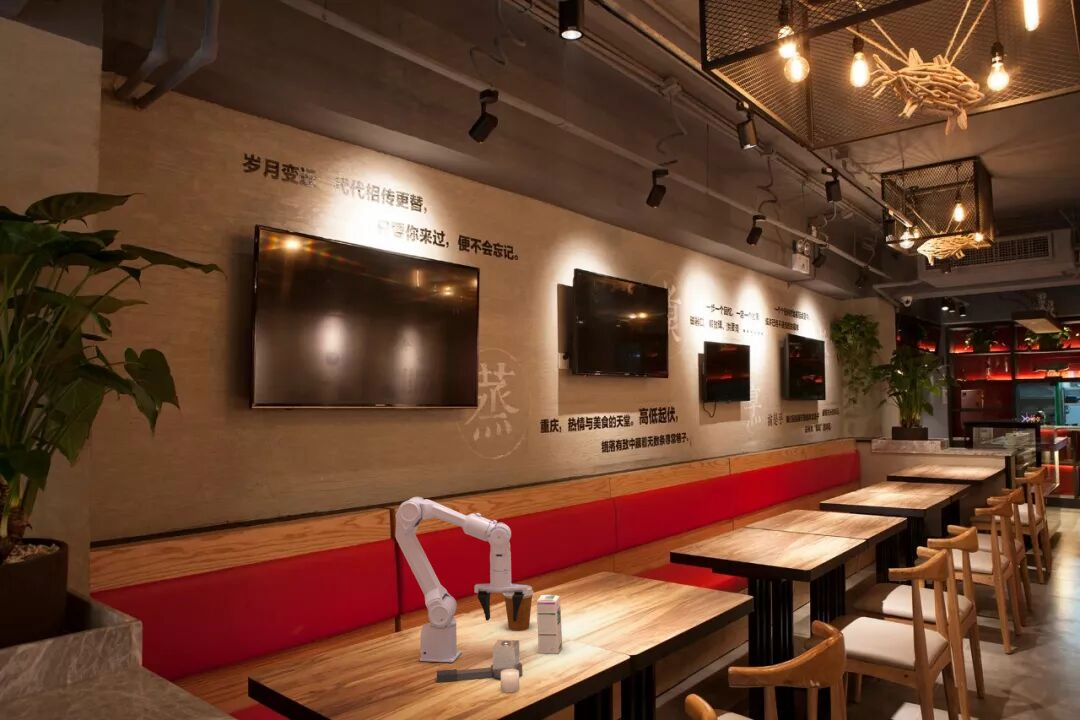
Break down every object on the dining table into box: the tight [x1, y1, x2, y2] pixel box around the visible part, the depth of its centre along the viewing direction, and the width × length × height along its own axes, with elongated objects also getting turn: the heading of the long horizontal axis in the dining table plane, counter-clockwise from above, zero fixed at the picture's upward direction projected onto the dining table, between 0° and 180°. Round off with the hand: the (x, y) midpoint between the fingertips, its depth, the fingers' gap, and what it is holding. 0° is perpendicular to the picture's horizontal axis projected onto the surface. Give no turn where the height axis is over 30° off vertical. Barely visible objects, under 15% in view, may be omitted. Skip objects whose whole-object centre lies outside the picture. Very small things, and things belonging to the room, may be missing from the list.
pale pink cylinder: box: [500, 669, 520, 694], centre depth 168 cm, size 4×4×4 cm
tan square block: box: [492, 639, 521, 670], centre depth 178 cm, size 6×6×6 cm
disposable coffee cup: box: [502, 585, 534, 632], centre depth 216 cm, size 10×10×12 cm
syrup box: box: [536, 594, 563, 655], centre depth 195 cm, size 6×6×14 cm
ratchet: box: [436, 662, 523, 683], centre depth 177 cm, size 21×11×4 cm, turn 80°
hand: (501, 619), depth 190 cm, fingers open, 7 cm apart
